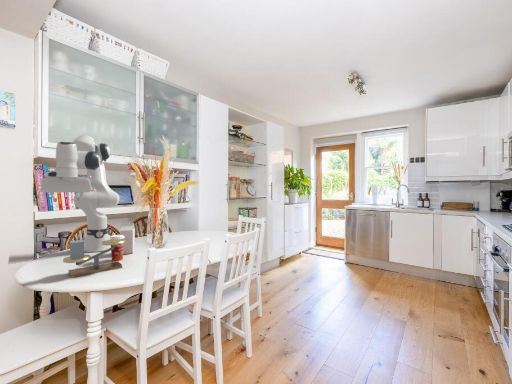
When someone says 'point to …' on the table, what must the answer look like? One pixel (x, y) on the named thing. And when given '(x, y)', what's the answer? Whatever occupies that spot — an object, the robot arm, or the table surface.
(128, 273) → the table surface
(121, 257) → the paper cup
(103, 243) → the balance
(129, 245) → the milk carton
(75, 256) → the block
